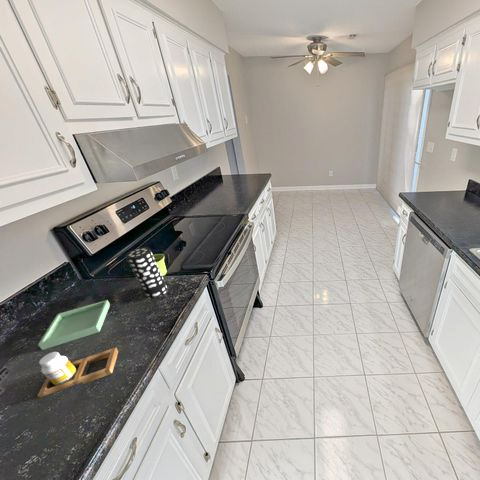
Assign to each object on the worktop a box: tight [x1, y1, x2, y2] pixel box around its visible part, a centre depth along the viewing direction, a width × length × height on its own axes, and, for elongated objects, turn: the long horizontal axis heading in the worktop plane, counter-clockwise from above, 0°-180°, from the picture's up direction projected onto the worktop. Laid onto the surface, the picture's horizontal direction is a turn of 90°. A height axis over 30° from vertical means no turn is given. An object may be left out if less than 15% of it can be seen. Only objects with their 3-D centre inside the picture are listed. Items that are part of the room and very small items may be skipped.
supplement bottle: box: [38, 351, 78, 386], centre depth 72 cm, size 5×5×10 cm
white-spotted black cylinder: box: [125, 246, 169, 300], centre depth 104 cm, size 8×8×20 cm
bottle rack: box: [37, 347, 119, 399], centre depth 75 cm, size 16×9×2 cm, turn 115°
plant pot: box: [153, 253, 168, 277], centre depth 119 cm, size 9×9×9 cm
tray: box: [37, 299, 111, 351], centre depth 94 cm, size 16×16×3 cm
